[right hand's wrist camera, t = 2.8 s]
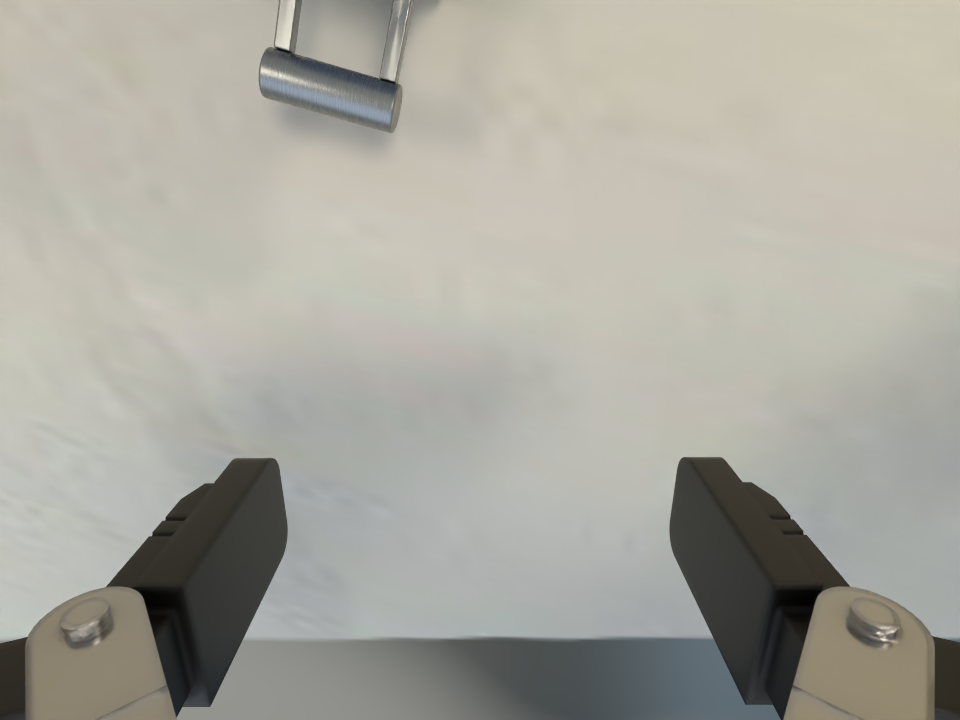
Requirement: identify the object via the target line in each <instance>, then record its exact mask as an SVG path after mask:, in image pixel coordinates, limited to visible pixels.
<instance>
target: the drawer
mask: <svg viewBox="0 0 960 720" xmlns="http://www.w3.org/2000/svg"><path fill="white" fill-rule="evenodd" d="M413 2H414V0H393V6H392V11H391V17H390V22H389V28H388V33H387V39H386V44H385V49H384V55H383V60H382V66H381V71H380V78H381V79H379V78H376V77H372V76H369V75H365V74H362V73H359V72H355V71H352V70H348V69H345V68H341V67H338V66H335V65H331V64H328V63H324V62H321V61H318V60H314V59H311V58H307V57H304V56H300V55H297V54H294V53H295V48H296V41H297V33H298V26H299V18H300V11H301V3H302V0H279V8H278V16H277V25H276V33H275V41H274V47H275V48H273V47H269V48H267V49H266V50H265V52H264V54H263V56H262V59H261V63H260V69H259V86H260V91H261V93H262V95H263V96H264V97H265V98H268V99H272V100H275V101H279V102H282V103H286V104H289V105H293V106H296V107H300V108H303V109H307V110H310V111H314V112H317V113H321V114H325V115H328V116H332V117H335V118H339V119H342V120H346V121H349V122H353V123H356V124H360V125H363V126H367V127H370V128H374V129H377V130H381V131H384V132H388V133H393V132H394V130H395V128H396V125H397V122H398V118H399V114H400V109H401V103H402V86H401V85H400V84H397V83H398V80H399V75H400V69H401V64H402V59H403V54H404V49H405V44H406V39H407V33H408V28H409V23H410V18H411V13H412V8H413ZM276 48H277V49H276Z"/></svg>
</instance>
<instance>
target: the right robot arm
mask: <svg viewBox="0 0 960 720" xmlns="http://www.w3.org/2000/svg"><path fill="white" fill-rule="evenodd" d="M287 532H288V528H287V518H286V511H285V504H284V497H283V490H282V483H281V476H280V470H279V465H278V463H277V461H276V460H275V459H274V458H236V459H234V460H232V461H231V463H230V464H229V465H228V466H227V468H226V469H225V470H224V471H223V473H222V474H221V475H220V476H219V478H218V479H217V480H216V481H215V483H214V484H204V485H202V486H201V487H199V488H198V489H196V490H194V491H193V492H191V493H190V494H188V495H187V496H185V497H184V498H182V499H181V500H180V501H179V502H178V503H177V505H176V506H175V507H174V508H173V509H172V510H171V512H170V513H169V514H168V515H167V516H166V520H165V521H162V522H161V523H160V524H159V526H158V527H157V528H156V529H155V530H154V531H153V535H152V536H149V537H148V538H147V540H146V541H145V542H144V543H143V544H142V545H141V547H140V548H139V549H138V550H137V551H136V553H135V554H134V555H133V556H132V557H131V558H130V560H129V561H128V562H127V563H126V564H125V565H124V567H123V568H122V569H121V570H120V571H119V572H118V574H117V575H116V576H115V577H114V578H113V579H112V581H111V582H110V583H109V584H108V585H107V586H106V588H100V589H96V590H92V591H89V592H86V593H83V594H81V595H78V596H76V597H74V598H72V599H70V600H68V601H66V602H64V603H62V604H61V605H59V606H57V607H56V608H54V609H53V610H52V611H50V612H49V613H48V614H46V615H45V616H44V617H43V618H42V619H41V620H40V621H39V622H38V623H37V624H36V625H35V626H34V628H33V629H32V631H31V632H30V634H29V635H28V637H25V638H22V639H18V640H13V641H9V642H5V643H0V720H177V719H176V718H177V716H178V714H179V712H180V710H181V708H182V707H210V706H211V704H212V702H213V700H214V698H215V696H216V694H217V691H218V690H219V687H220V685H221V683H222V681H223V679H224V677H225V675H226V673H227V671H228V669H229V667H230V665H231V663H232V661H233V659H234V657H235V654H236V652H237V650H238V648H239V646H240V644H241V642H242V640H243V638H244V636H245V634H246V632H247V630H248V628H249V626H250V623H251V621H252V619H253V617H254V615H255V613H256V611H257V609H258V607H259V605H260V603H261V601H262V599H263V597H264V595H265V592H266V590H267V588H268V586H269V584H270V582H271V580H272V578H273V576H274V574H275V572H276V570H277V568H278V566H279V564H280V562H281V559H282V557H283V555H284V552H285V548H286V543H287ZM670 541H671V546H672V550H673V553H674V556H675V558H676V560H677V562H678V564H679V567H680V569H681V571H682V573H683V575H684V577H685V579H686V581H687V583H688V585H689V587H690V590H691V592H692V594H693V596H694V598H695V600H696V602H697V604H698V606H699V608H700V610H701V613H702V615H703V617H704V619H705V621H706V623H707V625H708V627H709V629H710V631H711V633H712V636H713V638H714V640H715V642H716V644H717V646H718V648H719V650H720V652H721V654H722V656H723V659H724V661H725V663H726V665H727V667H728V669H729V671H730V673H731V675H732V677H733V679H734V682H735V684H736V686H737V688H738V690H739V692H740V694H741V696H742V698H743V700H744V702H745V704H746V705H770V704H771V705H774V707H775V709H776V711H777V713H778V715H779V717H780V719H781V720H960V643H959V642H955V641H951V640H946V639H942V638H938V637H933V636H932V635H931V634H930V632H929V631H928V629H927V628H926V626H925V625H924V624H923V623H922V622H921V621H920V620H919V619H918V618H917V617H916V616H915V615H914V614H912V613H911V612H910V611H908V610H907V609H906V608H904V607H903V606H901V605H899V604H898V603H896V602H894V601H892V600H890V599H888V598H886V597H884V596H882V595H879V594H877V593H874V592H871V591H868V590H864V589H860V588H854V587H850V586H849V584H848V583H847V582H846V581H845V580H844V579H843V577H842V576H841V575H840V574H839V573H838V572H837V570H836V569H835V568H834V567H833V566H832V564H831V563H830V562H829V561H828V560H827V559H826V557H825V556H824V555H823V554H822V553H821V551H820V550H819V549H818V548H817V547H816V546H815V544H814V543H813V542H812V541H811V540H810V538H809V537H808V536H807V535H804V534H803V530H802V529H801V528H800V527H799V525H798V524H797V523H796V522H795V521H794V520H791V518H790V515H789V514H788V512H787V511H786V510H785V509H784V508H783V507H782V505H781V504H780V503H779V502H778V501H777V500H776V498H775V497H773V496H771V495H770V494H768V493H767V492H765V491H764V490H762V489H761V488H759V487H758V486H756V485H755V484H753V483H751V482H742V481H741V480H740V478H739V477H738V476H737V475H736V473H735V472H734V471H733V470H732V468H731V467H730V466H729V465H728V463H727V462H726V461H725V460H724V459H723V458H721V457H683V458H682V459H681V460H680V462H679V464H678V468H677V475H676V482H675V489H674V496H673V503H672V511H671V518H670Z"/></svg>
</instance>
